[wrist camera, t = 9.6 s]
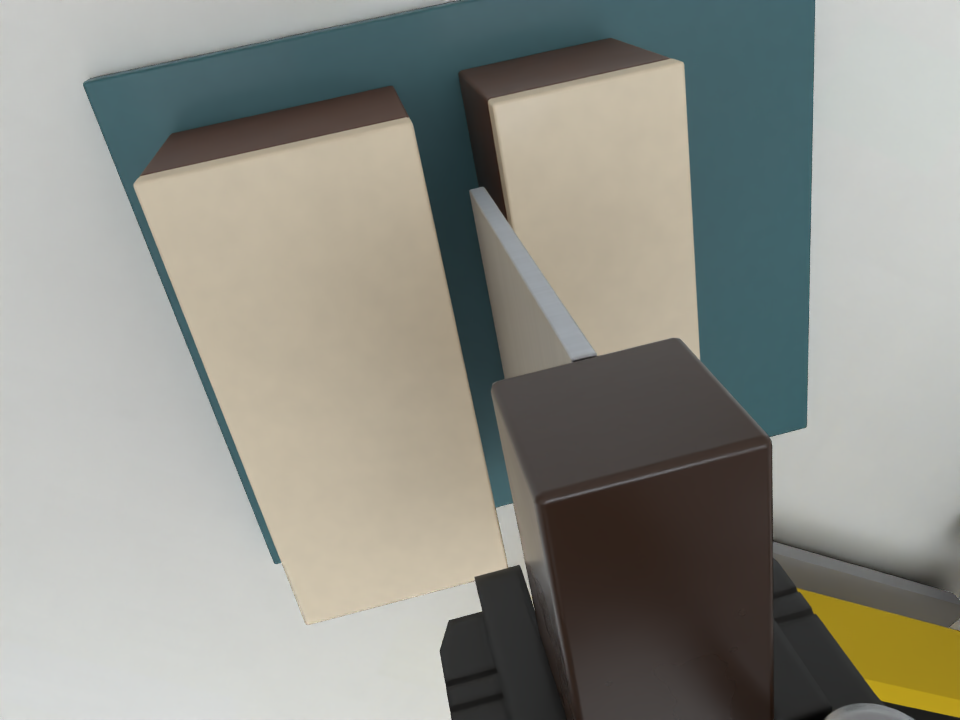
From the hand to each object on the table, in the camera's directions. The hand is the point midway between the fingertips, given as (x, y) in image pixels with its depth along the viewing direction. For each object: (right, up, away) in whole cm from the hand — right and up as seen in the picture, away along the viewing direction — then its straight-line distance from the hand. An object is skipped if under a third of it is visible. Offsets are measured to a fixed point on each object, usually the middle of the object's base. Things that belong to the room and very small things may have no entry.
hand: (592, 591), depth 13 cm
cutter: (-1, +2, +5) cm, 6 cm away
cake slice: (+1, +6, +11) cm, 12 cm away
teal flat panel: (-1, +6, +11) cm, 12 cm away
